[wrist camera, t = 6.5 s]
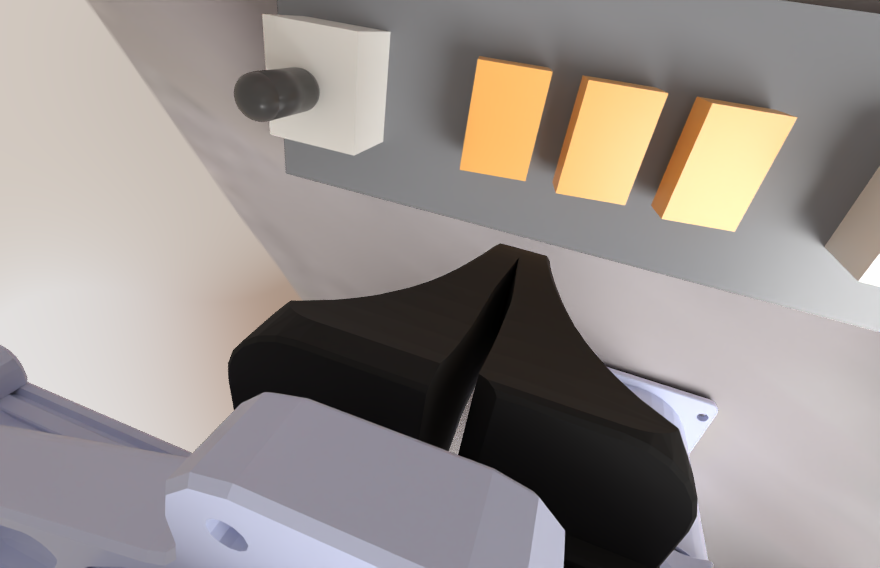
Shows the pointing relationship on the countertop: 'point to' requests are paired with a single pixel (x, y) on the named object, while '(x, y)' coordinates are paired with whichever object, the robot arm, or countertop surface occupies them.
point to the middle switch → (607, 139)
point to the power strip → (684, 78)
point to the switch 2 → (720, 162)
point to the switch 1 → (504, 117)
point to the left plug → (319, 83)
